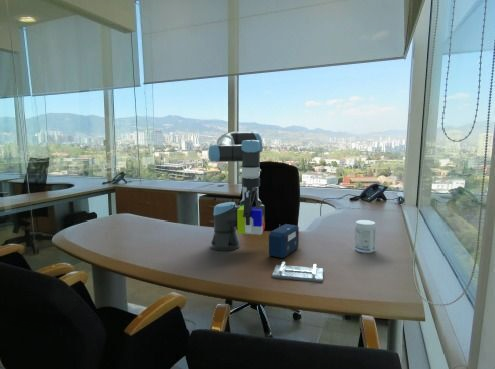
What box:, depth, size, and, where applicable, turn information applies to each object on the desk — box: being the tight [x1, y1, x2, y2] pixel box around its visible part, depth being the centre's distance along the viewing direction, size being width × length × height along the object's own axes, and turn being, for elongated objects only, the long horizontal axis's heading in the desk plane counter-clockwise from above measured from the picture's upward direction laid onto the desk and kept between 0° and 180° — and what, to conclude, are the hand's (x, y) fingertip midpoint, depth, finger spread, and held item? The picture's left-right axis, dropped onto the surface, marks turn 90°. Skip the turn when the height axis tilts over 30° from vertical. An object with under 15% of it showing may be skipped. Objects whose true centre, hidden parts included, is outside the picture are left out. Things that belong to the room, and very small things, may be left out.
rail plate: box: [271, 261, 324, 283], centre depth 132 cm, size 20×11×3 cm, turn 76°
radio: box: [268, 223, 300, 259], centre depth 158 cm, size 21×9×20 cm, turn 148°
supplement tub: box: [354, 219, 377, 254], centre depth 159 cm, size 10×10×15 cm
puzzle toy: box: [236, 205, 266, 236], centre depth 135 cm, size 10×10×10 cm
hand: (251, 228), depth 136 cm, fingers closed on puzzle toy, 10 cm apart
